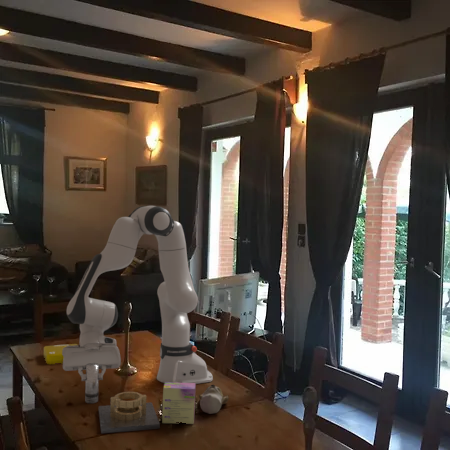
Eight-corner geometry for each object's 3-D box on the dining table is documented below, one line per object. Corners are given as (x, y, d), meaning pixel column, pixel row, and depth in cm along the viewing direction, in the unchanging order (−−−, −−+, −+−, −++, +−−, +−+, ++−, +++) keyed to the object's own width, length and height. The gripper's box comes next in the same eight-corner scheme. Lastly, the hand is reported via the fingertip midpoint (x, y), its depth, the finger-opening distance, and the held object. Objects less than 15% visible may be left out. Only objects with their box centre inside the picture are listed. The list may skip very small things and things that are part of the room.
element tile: (77, 352, 246) (77, 342, 246) (82, 362, 233) (82, 351, 232) (43, 355, 240) (43, 344, 240) (46, 365, 227) (46, 354, 226)
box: (194, 417, 178) (195, 382, 178) (194, 424, 172) (195, 388, 172) (163, 416, 178) (164, 381, 177) (161, 423, 172) (162, 387, 172)
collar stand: (151, 406, 186) (152, 385, 185) (159, 428, 168) (160, 405, 168) (98, 410, 181) (99, 388, 180) (101, 433, 164) (101, 409, 163)
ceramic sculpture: (194, 389, 180) (201, 377, 194) (193, 415, 180) (200, 401, 194) (225, 392, 178) (230, 379, 193) (224, 418, 178) (229, 403, 193)
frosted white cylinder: (98, 398, 192) (98, 362, 191) (98, 402, 187) (99, 366, 187) (84, 399, 190) (85, 363, 190) (85, 403, 186) (85, 367, 185)
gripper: (62, 341, 192) (61, 377, 183) (120, 339, 197) (121, 373, 188) (62, 350, 196) (61, 385, 187) (118, 347, 202) (120, 381, 193)
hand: (92, 379), depth 188 cm, fingers closed on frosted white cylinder, 4 cm apart
